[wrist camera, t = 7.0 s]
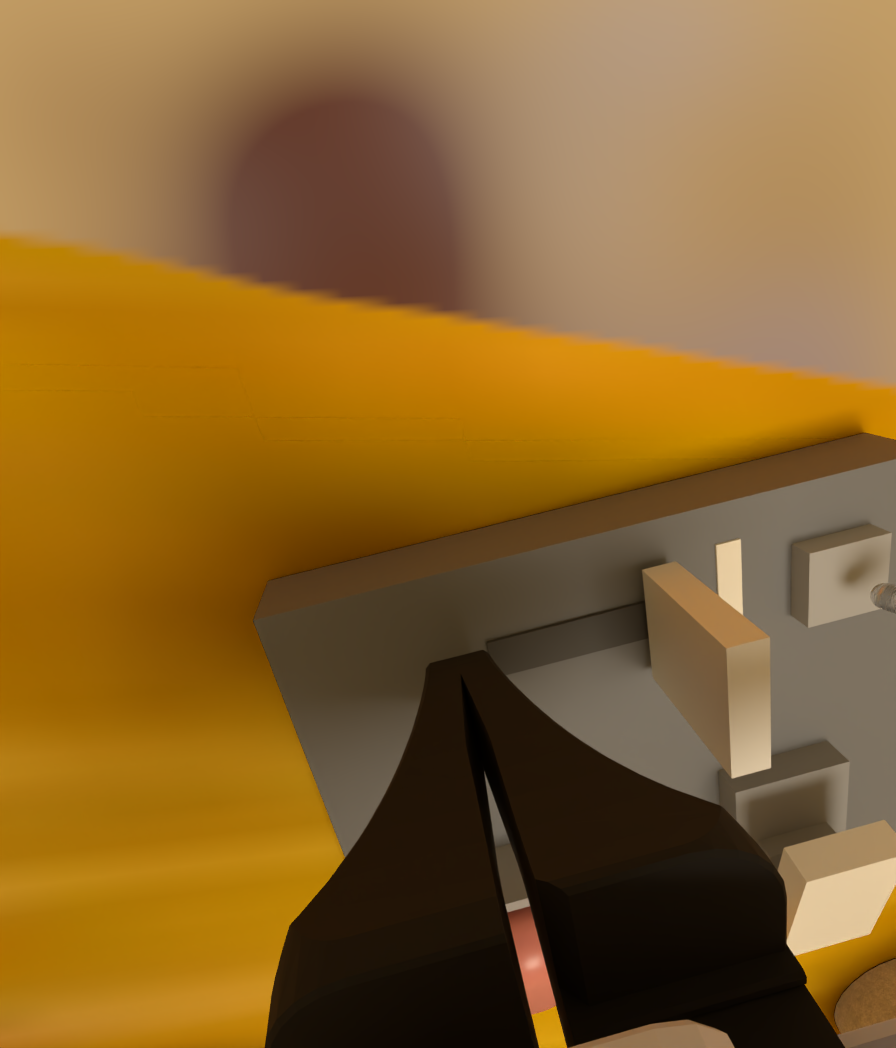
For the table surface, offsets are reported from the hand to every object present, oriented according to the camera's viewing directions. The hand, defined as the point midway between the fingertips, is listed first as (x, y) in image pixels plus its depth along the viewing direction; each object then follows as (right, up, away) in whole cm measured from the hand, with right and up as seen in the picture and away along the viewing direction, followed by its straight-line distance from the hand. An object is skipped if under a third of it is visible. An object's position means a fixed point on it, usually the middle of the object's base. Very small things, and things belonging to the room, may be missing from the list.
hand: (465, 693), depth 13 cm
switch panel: (+4, -2, +5) cm, 7 cm away
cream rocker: (+9, -6, +2) cm, 11 cm away
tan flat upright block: (+5, +1, +1) cm, 5 cm away
